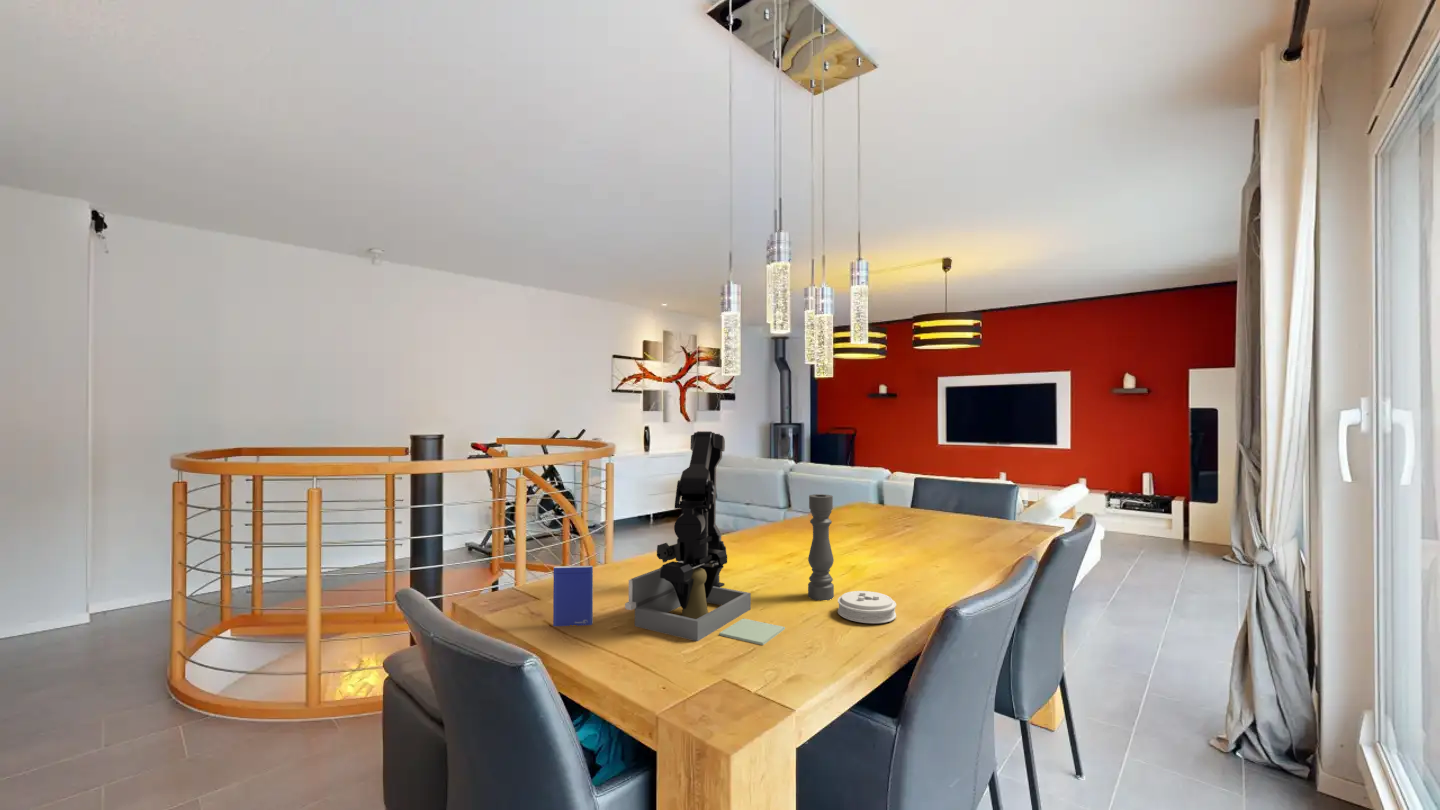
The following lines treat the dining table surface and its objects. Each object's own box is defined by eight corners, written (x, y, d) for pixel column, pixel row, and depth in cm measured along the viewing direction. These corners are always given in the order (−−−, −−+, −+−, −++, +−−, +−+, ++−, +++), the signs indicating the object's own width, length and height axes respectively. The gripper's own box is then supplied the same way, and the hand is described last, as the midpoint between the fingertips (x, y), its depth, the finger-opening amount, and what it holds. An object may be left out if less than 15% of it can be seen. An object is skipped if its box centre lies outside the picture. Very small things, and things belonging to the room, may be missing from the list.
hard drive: (592, 625, 129) (592, 567, 129) (552, 626, 128) (553, 568, 128) (592, 622, 131) (593, 565, 131) (554, 624, 130) (554, 566, 130)
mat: (743, 621, 132) (743, 618, 132) (784, 629, 126) (784, 627, 126) (719, 635, 123) (719, 632, 123) (762, 645, 118) (762, 642, 118)
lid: (906, 625, 130) (906, 602, 130) (852, 629, 127) (852, 606, 127) (879, 606, 142) (879, 585, 142) (829, 610, 140) (829, 588, 140)
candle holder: (837, 596, 149) (837, 495, 149) (827, 603, 144) (827, 498, 144) (814, 592, 152) (814, 493, 152) (803, 599, 147) (803, 496, 147)
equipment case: (688, 598, 148) (688, 557, 148) (750, 610, 139) (750, 566, 139) (625, 627, 128) (625, 580, 128) (693, 644, 119) (693, 593, 119)
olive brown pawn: (688, 624, 129) (688, 573, 129) (676, 616, 135) (676, 566, 135) (713, 620, 132) (713, 569, 132) (701, 612, 138) (701, 563, 138)
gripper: (688, 522, 146) (688, 586, 146) (639, 535, 130) (639, 608, 130) (728, 526, 140) (728, 594, 140) (682, 541, 124) (682, 617, 124)
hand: (694, 602), depth 133 cm, fingers open, 8 cm apart
